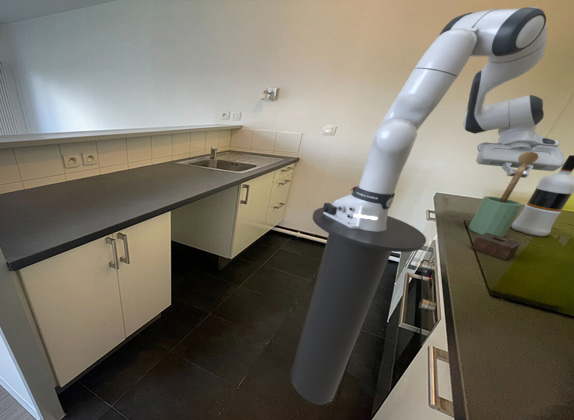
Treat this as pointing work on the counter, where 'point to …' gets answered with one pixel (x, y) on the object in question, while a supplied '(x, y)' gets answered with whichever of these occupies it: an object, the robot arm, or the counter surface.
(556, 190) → the vodka
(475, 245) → the spoon stand
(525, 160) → the spoon
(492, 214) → the cup
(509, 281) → the counter surface
